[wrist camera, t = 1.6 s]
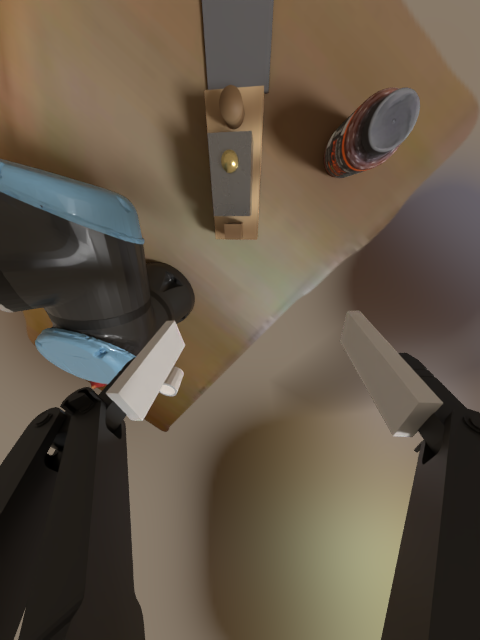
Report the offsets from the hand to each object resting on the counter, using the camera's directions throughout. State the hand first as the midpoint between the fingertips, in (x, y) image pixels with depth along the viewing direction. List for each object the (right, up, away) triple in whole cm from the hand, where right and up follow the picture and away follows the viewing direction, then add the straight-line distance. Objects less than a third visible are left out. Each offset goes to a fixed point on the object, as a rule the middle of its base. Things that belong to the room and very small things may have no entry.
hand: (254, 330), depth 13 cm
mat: (-1, +35, +6) cm, 36 cm away
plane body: (-1, +24, +14) cm, 28 cm away
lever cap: (-2, +21, +11) cm, 23 cm away
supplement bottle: (+14, +25, +11) cm, 31 cm away
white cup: (-23, -17, +45) cm, 54 cm away
